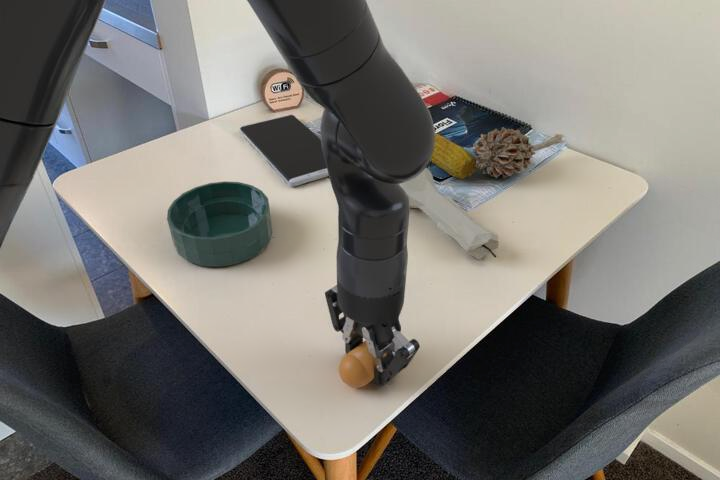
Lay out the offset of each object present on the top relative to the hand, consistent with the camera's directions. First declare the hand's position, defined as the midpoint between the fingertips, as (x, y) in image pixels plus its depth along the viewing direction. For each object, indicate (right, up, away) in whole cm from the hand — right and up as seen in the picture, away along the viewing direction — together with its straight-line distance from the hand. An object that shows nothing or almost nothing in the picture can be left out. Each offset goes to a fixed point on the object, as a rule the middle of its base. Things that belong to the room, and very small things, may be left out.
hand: (368, 369), depth 67 cm
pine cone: (+30, +31, +40) cm, 59 cm away
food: (+14, +33, +42) cm, 55 cm away
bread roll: (0, 0, 0) cm, 0 cm away
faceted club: (+13, +18, +24) cm, 33 cm away
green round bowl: (-24, +17, +21) cm, 36 cm away
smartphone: (-15, +35, +45) cm, 59 cm away
